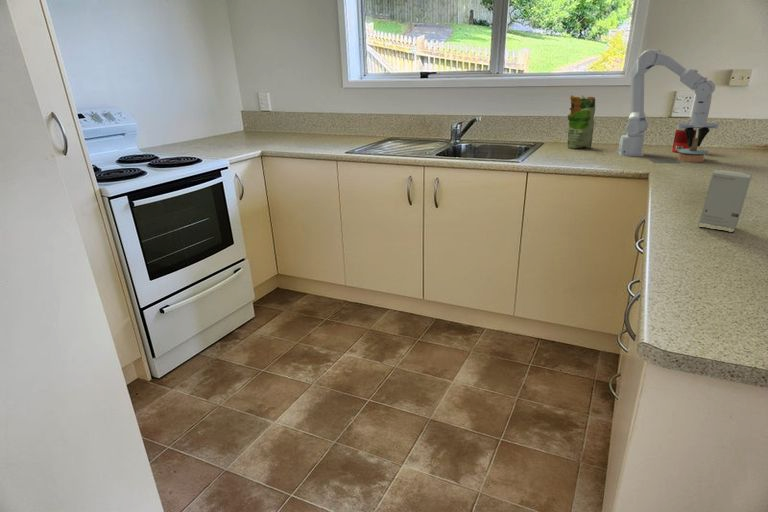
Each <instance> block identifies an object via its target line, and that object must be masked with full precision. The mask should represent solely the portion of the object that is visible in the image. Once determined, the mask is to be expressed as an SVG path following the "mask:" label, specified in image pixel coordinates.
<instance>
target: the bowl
mask: <svg viewBox="0 0 768 512" xmlns="http://www.w3.org/2000/svg"><path fill="white" fill-rule="evenodd" d="M705 156H706V154H684V153H678V157H677V161H678V160H679V161H680V162H681V161H682V162H688V163H701V162H704V160H705Z"/></svg>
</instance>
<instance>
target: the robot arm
mask: <svg viewBox="0 0 768 512" xmlns="http://www.w3.org/2000/svg"><path fill="white" fill-rule="evenodd" d="M655 66H664V67H665V68H666V69H668V70H670V71H671V72H672V73H674V74H676V75H677V76H678V77H679V81H680V82H681V83H682V84H684V85H685V86H686V87H687V88H689V89H690V90H691V91H694V93H695V99H694V101H693V106H692V112H691V116H690V117H691V118H690V122H686V123H683V122H682V123H677V125H676V128H678V129H685V132H686V135H687V141H688V146H689V147H691V145H692V140H693V136H694V133H695V130H694V129H693V128H697V130H698V135H697V138H698V139H699V141H698V146H697V148H699V147H700V146H701V144H702V143H703V141H704V138H705V137H706V136H707V135H708V134H709V132H710V129H717V130H718V129H719V125H720V123H717V122H716V123H715V122H708V118H709V112H710V109H711V103H712V98H713V93H714V92H715V90H716V84H715V83H714V82H713V80H710V79H709V78H708V77H706V76H705V77H704V76H703V75H701V74H700V73H699V70H697V69H696V68H695V69H693V68H689V69H687V68H685V67H684V66H683V65H681V63H679V62H678V61H676V60H675V59H674V58H673V57H672V56H670V55H668V54H667V53H665V52H664V51H662V50H660V49H657V48H652V49H646V50H644V51H642V52H641V53H640V54H639V55H638V56H637V57H636V61H635V63H634V64H633V66H632V68H631V71H630V114H629V116H628V120H627V124H626V125H625V131H626V134H623V135H621V136H620V139H619V144H618V151H617V153H618V155H620V156H621V157H645V154H643V147H644V141H645V135H646V134H645V131H646V130H647V129H648V125H649V124H648V121H647V119H646V117H647V116H646V113H645V74H646V73H647V72H648V71H649V70H650V69H652V67H655ZM708 79H709V80H708Z"/></svg>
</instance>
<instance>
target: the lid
mask: <svg viewBox="0 0 768 512" xmlns="http://www.w3.org/2000/svg"><path fill="white" fill-rule="evenodd" d="M698 141H699V139H698V137H697V138H696V137H695V138H693V140H692V145H691V147H690V149H679V150H678V151H677V152H679V153H684V154H705V155H707V154H709V150H707V149H700V148H698ZM679 153H678V154H679Z"/></svg>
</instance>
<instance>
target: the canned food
mask: <svg viewBox="0 0 768 512" xmlns="http://www.w3.org/2000/svg"><path fill="white" fill-rule="evenodd" d="M693 129H694V130H695V133H694V136H693V138H696V136H697V130H698V128H693ZM679 149H690V147H689V146H688V141H687V135H686V132H685V129H678V128H677V127H676V129H675V134H674V138H673V144H672V150H671V152H672V153H675V154H679V152H677V151H678V150H679Z"/></svg>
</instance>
